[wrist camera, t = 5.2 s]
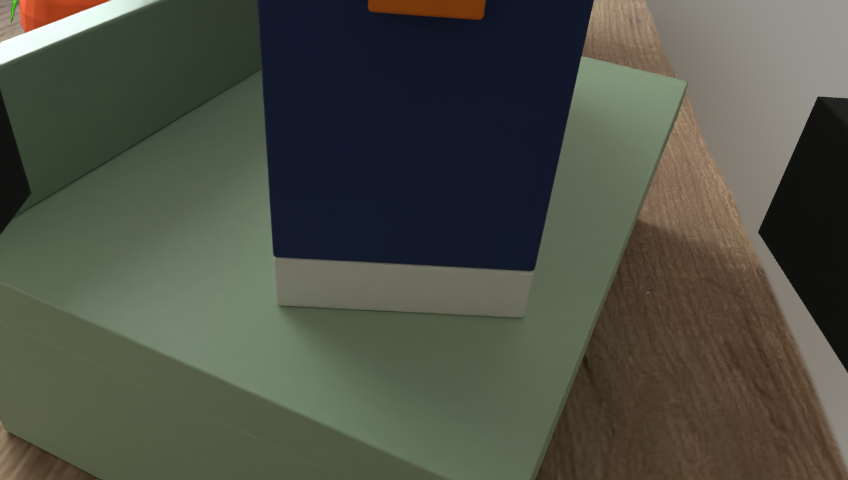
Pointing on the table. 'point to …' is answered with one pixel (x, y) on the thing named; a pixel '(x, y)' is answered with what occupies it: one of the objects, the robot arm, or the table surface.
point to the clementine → (49, 11)
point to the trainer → (414, 148)
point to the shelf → (267, 274)
